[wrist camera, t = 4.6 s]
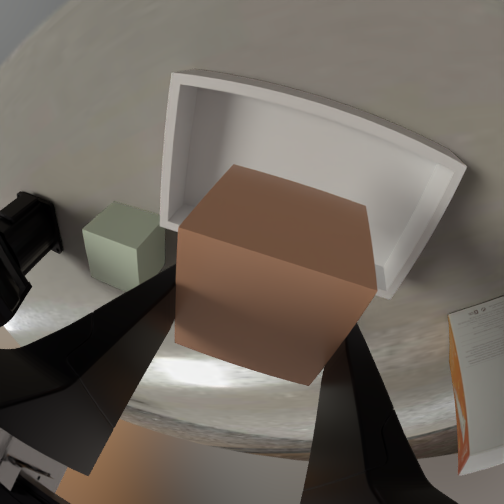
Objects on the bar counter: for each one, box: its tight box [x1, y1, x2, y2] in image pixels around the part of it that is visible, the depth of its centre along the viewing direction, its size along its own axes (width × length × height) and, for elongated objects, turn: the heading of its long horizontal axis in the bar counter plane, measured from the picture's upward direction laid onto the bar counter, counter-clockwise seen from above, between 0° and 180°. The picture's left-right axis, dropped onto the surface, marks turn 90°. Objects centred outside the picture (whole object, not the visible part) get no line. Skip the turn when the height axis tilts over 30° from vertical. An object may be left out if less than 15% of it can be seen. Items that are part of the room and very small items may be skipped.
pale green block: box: [82, 201, 165, 292], centre depth 23 cm, size 5×5×4 cm
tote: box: [160, 69, 467, 300], centre depth 17 cm, size 10×16×3 cm, turn 79°
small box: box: [448, 296, 504, 476], centre depth 17 cm, size 8×6×13 cm
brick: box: [175, 164, 378, 386], centre depth 10 cm, size 5×5×4 cm
